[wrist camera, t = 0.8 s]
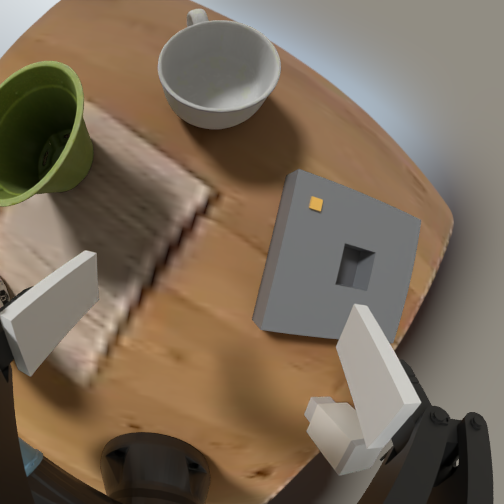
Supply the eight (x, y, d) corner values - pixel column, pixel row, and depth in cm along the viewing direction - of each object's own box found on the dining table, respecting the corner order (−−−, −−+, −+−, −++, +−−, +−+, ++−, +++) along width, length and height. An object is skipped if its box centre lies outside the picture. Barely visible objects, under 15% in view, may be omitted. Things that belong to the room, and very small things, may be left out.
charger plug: (325, 418, 33) (370, 468, 22) (297, 419, 32) (338, 475, 21) (336, 392, 33) (387, 439, 22) (307, 392, 32) (356, 446, 21)
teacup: (266, 135, 29) (293, 106, 21) (166, 147, 27) (161, 117, 19) (245, 40, 28) (262, 1, 20) (157, 47, 25) (156, 4, 17)
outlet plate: (376, 335, 34) (394, 343, 31) (251, 319, 30) (261, 330, 26) (403, 220, 34) (422, 220, 31) (286, 175, 30) (299, 168, 26)
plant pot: (36, 231, 24) (-26, 231, 13) (20, 138, 22) (-31, 106, 11) (127, 189, 26) (95, 163, 15) (104, 95, 24) (77, 38, 13)
